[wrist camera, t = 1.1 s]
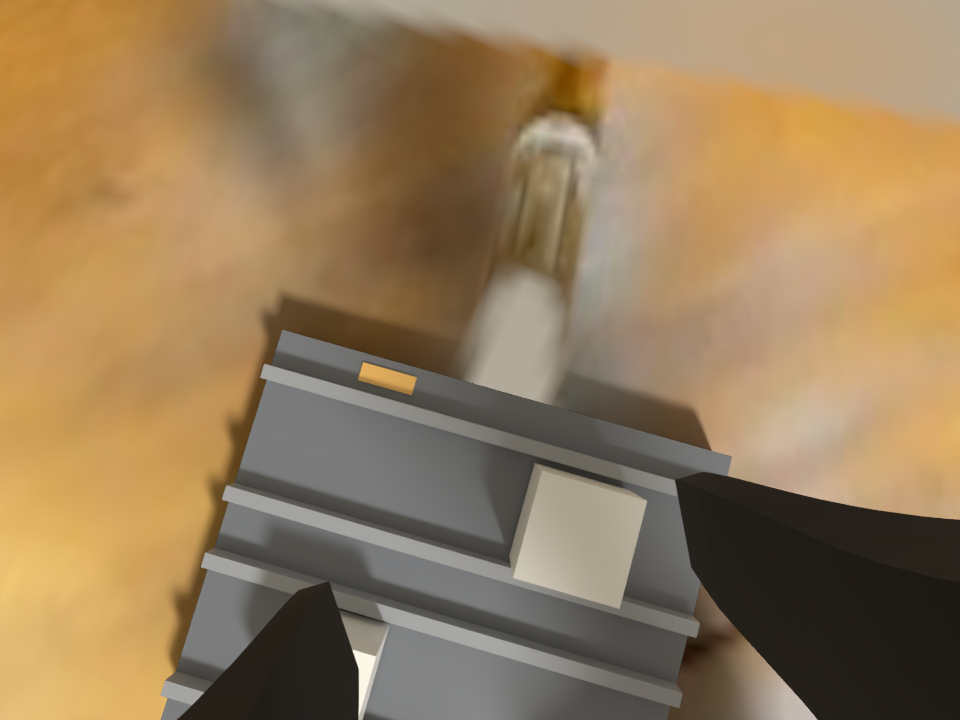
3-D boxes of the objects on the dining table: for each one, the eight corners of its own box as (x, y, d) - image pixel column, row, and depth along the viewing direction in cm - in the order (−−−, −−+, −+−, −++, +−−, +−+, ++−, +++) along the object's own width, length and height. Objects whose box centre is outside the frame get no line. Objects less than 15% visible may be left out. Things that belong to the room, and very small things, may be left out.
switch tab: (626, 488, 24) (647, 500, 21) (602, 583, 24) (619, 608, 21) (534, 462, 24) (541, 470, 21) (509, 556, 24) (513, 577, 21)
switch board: (713, 452, 26) (740, 458, 23) (618, 831, 25) (636, 884, 22) (297, 335, 27) (275, 327, 24) (184, 699, 25) (148, 735, 23)
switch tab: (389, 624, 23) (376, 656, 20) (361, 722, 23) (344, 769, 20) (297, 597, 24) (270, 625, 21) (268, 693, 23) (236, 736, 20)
